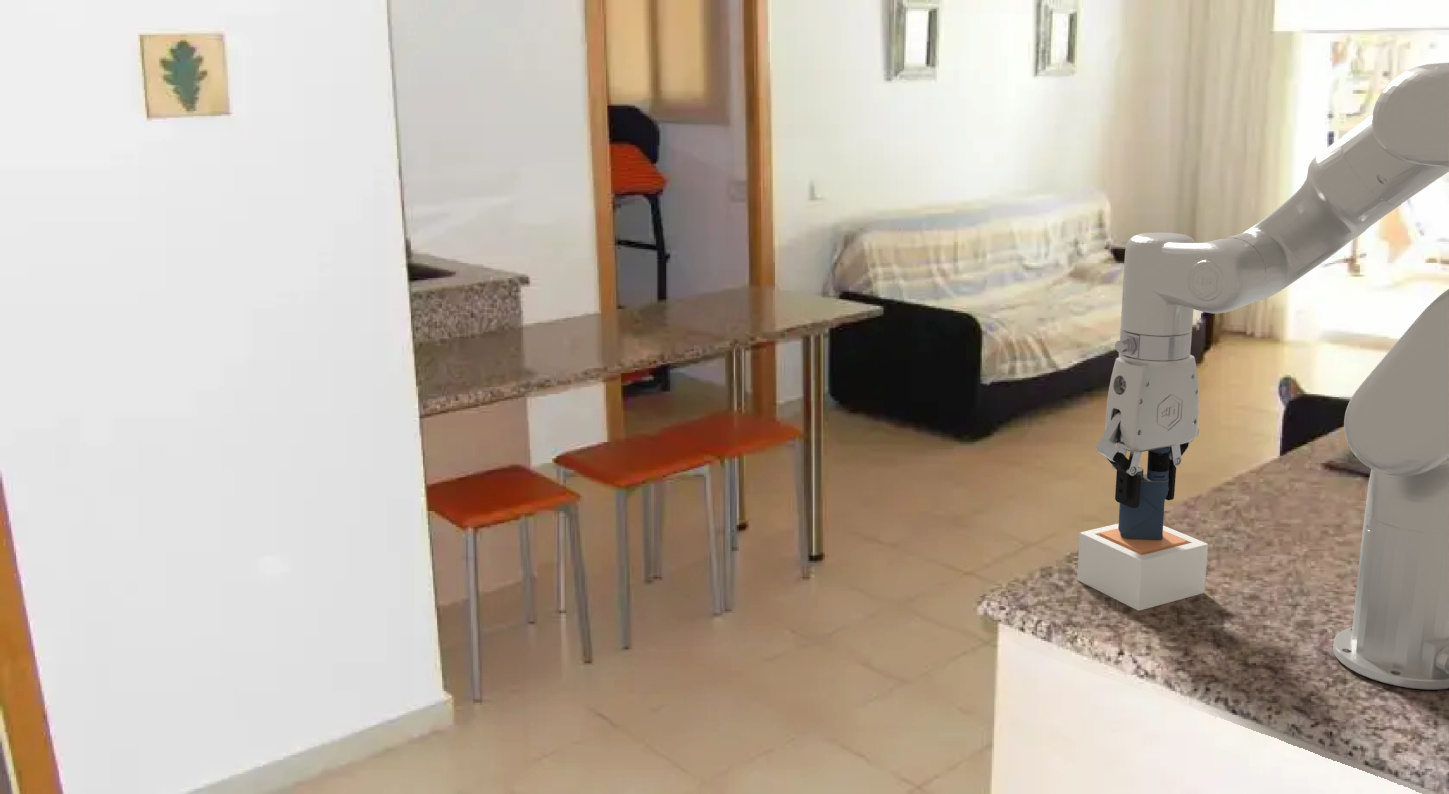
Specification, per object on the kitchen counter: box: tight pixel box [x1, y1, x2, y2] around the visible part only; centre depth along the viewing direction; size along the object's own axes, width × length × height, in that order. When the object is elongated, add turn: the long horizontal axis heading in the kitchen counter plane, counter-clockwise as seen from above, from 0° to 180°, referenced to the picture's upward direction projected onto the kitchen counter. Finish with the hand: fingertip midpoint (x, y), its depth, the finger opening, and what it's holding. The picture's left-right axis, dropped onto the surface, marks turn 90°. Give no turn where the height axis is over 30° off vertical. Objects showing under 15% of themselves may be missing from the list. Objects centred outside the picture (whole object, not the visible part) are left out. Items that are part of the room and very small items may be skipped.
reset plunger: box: [1100, 529, 1187, 555], centre depth 146 cm, size 7×7×3 cm
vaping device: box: [1118, 447, 1170, 540], centre depth 144 cm, size 3×5×12 cm, turn 78°
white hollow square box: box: [1076, 522, 1209, 612], centre depth 146 cm, size 10×10×6 cm
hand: (1144, 499), depth 145 cm, fingers closed on vaping device, 4 cm apart
